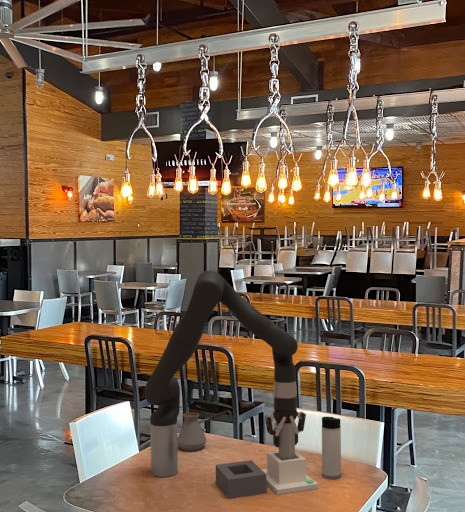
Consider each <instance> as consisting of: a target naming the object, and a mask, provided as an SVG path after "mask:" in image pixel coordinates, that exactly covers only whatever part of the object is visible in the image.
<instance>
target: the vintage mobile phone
mask: <svg viewBox="0 0 465 512" xmlns="http://www.w3.org/2000/svg"><path fill="white" fill-rule="evenodd" d="M275 422H276V421H275ZM276 425H277V426H279V424H278V423H277V422H276ZM276 429H277V428H276ZM278 436H279V447H278V451H279V459H280V460H281V461H282V460H290V459H295V451H296V445H295V429H294V428H293V424H292V423H288V422H287V423H284V424H283V427H282V429H281V430H280V432H279V435H278Z"/></svg>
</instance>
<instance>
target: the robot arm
mask: <svg viewBox="0 0 465 512" xmlns="http://www.w3.org/2000/svg"><path fill="white" fill-rule="evenodd" d="M219 302H220V303H221V304H222V305H223V306H225V308H227V309H228V310H229V311H230V312H231V313H232V315H233V316H234V317H235V318H236V319H237V320H238V322H239V323H240V324H241V326H243V327H244V328H245V330H247V331H248V332H250V333H251V334H253V335H254V336H255V337H256V338H258V339H259V340H262V341H263V342H265V343H266V344H267V345H269V347H271V350H272V351H271V352H272V358H273V364H274V365H273V366H274V368H273V369H274V370H273V371H274V372H273V373H274V375H273V376H274V378H273V379H274V380H273V413H272V414H271V415H265V416H264V419H265V424H266V425H265V426H266V431H267V433H268V434H269V435H270V436H272V439H273V440H272V444H273V446H275V448H279V436H278V435H279V432H280V430H281V429H282V427H283V424H284V423H287V422H288V423H292V424H293V428H294V429H295V446H297V445H298V443H299V433H301V432H304V430H305V423H306V416H307V415H306V413H305V412H303V411H298V409H297V408H298V401H297V400H298V398H297V397H298V395H297V394H298V390H297V389H298V388H297V377H296V376H297V374H296V373H297V372H296V366H295V364H294V360H293V359H294V358H293V356H294V355H295V354H296V353H297V351H298V346H299V345H298V342H297V339H296V338H295V337H294V336H293V335H291V334H290V333H288V332H287V331H285V330H284V329H283V328H281V327H279V326H278V325H276V323H274V321H272V320H271V319H269V318H268V317H267V316H266V315H264V314H263V313H262V312H261V311H259V310H258V309H257V308H255V307H254V305H251V303H249V302H248V301H247V300H246V299H245V298H243V297H242V295H240V294H239V292H238V291H236V290H235V289H234V288H233V287H232V286H231V284H229V282H227V280H226V279H225V278H224V277H223V276H222V275H221V274H220V273H218V272H217V271H215V270H212V269H208V270H203V271H201V273H200V274H199V275H198V277H197V279H196V282H195V284H194V287H193V291H192V295H191V298H190V300H189V303H188V307H187V309H186V311H185V312H184V314H183V315H182V317H181V318H180V320H179V321H178V323H177V324H176V326H175V327H174V329H173V331H172V333H171V336H170V338H169V339H168V343H167V345H166V347H165V349H164V351H163V352H162V355H161V357H160V359H159V361H158V363H157V365H156V367H155V368H154V370H153V371H152V373H151V374H150V376H149V378H148V380H147V381H146V384H145V387H144V397H145V400H146V402H147V403H148V404H150V405H151V406H157V408H156V409H155V410H154V411H153V412H152V413H151V415H150V418H149V420H150V421H149V422H150V423H149V426H150V427H149V428H150V432H149V433H150V474H151V475H152V476H155V477H158V478H165V477H166V478H169V477H173V476H175V475H176V474H178V472H179V456H178V455H179V454H178V453H179V452H178V450H179V449H178V448H179V445H178V439H177V438H178V417H179V415H180V406H181V405H180V404H181V402H180V400H181V399H180V398H181V387H180V383H179V381H178V379H177V378H176V377H175V375H176V373H177V372H179V370H180V369H181V368H182V367H183V366H185V364H187V363H188V361H190V359H191V358H192V356H193V355H194V354H195V351H196V350H197V348H198V345H199V343H200V341H201V338H202V336H203V333H204V331H205V326H206V324H207V322H208V319H209V317H210V316H211V314H213V313H212V312H213V311H214V310H215V308H216V306H217V305H218V303H219ZM296 419H298V421H297V422H296V421H295V420H296ZM274 420H275V422H274V427H273V421H274ZM276 422H277V423H278V424H279V426H277V425H276ZM276 428H277V429H276Z"/></svg>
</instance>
